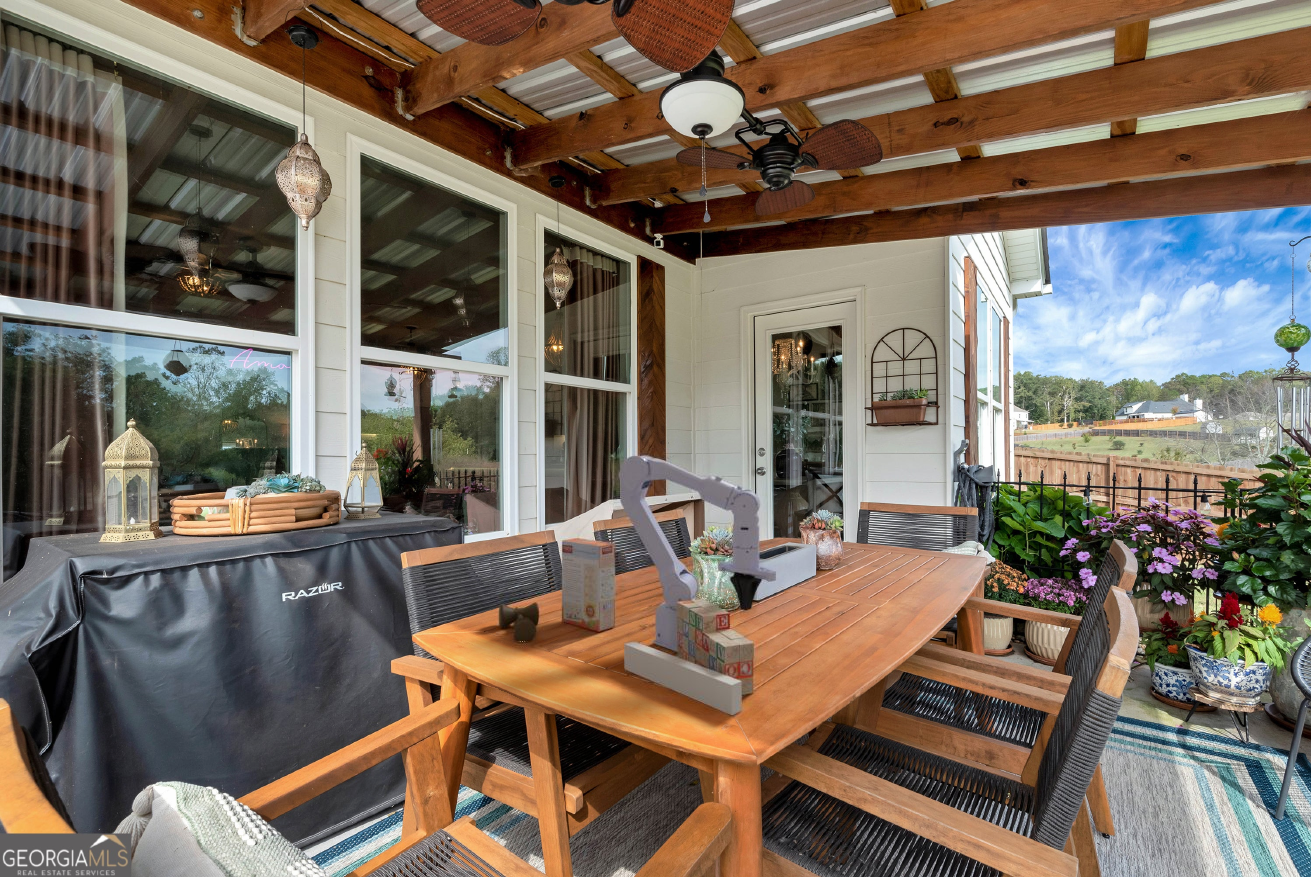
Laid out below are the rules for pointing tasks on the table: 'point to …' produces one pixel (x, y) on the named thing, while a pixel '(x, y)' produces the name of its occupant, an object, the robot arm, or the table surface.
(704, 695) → the grey board
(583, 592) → the cracker box
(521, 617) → the kendama
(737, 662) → the stack of blocks
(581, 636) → the table surface
